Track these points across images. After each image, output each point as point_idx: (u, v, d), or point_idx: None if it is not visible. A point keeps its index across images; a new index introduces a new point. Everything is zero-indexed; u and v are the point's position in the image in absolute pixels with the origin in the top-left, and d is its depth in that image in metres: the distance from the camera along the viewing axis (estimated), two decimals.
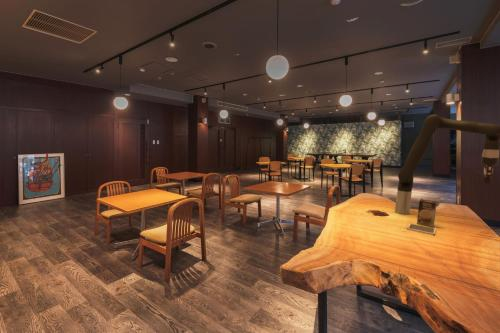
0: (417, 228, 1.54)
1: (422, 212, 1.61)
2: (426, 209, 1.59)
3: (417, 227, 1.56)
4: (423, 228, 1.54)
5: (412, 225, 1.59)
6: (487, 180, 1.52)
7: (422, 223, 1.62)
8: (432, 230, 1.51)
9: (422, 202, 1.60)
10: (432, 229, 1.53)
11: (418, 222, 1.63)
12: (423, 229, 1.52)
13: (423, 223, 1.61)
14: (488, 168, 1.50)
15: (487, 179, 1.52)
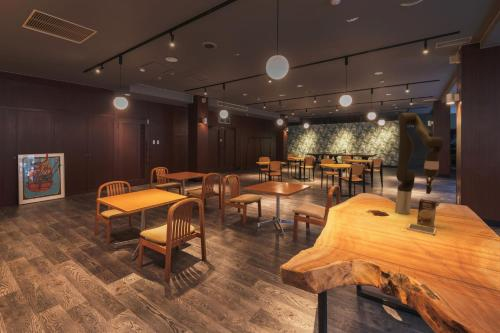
0: (417, 228, 1.54)
1: (422, 212, 1.61)
2: (426, 209, 1.59)
3: (417, 227, 1.56)
4: (423, 228, 1.54)
5: (412, 225, 1.59)
6: (428, 191, 1.56)
7: (422, 223, 1.62)
8: (432, 230, 1.51)
9: (422, 202, 1.60)
10: (432, 229, 1.53)
11: (418, 222, 1.63)
12: (423, 229, 1.52)
13: (423, 223, 1.61)
14: (428, 179, 1.54)
15: (428, 190, 1.56)
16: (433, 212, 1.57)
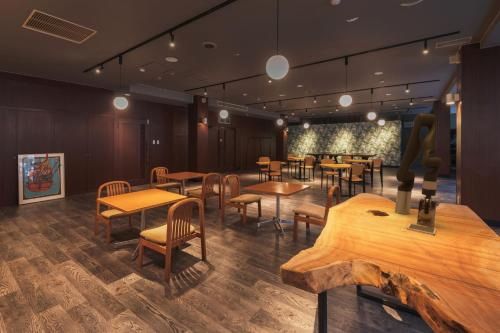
0: (417, 228, 1.54)
1: (422, 212, 1.61)
2: None
3: (417, 227, 1.56)
4: (423, 228, 1.54)
5: (412, 225, 1.59)
6: (425, 211, 1.58)
7: (422, 223, 1.62)
8: (432, 230, 1.51)
9: (422, 202, 1.60)
10: (432, 229, 1.53)
11: (418, 222, 1.63)
12: (423, 229, 1.52)
13: (423, 223, 1.61)
14: (425, 200, 1.56)
15: (425, 210, 1.58)
16: (433, 212, 1.57)
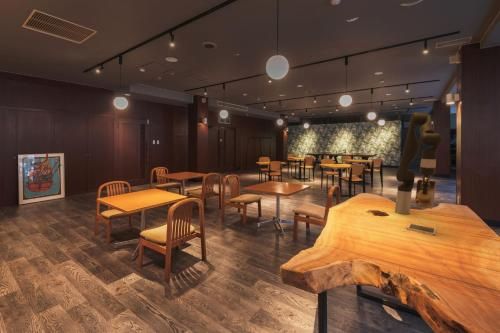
0: (417, 228, 1.54)
1: (421, 192, 1.50)
2: None
3: (417, 227, 1.56)
4: (423, 228, 1.54)
5: (412, 225, 1.59)
6: (424, 191, 1.47)
7: (420, 204, 1.50)
8: (432, 230, 1.51)
9: (420, 182, 1.49)
10: (432, 229, 1.53)
11: (416, 204, 1.52)
12: (423, 229, 1.52)
13: (422, 204, 1.50)
14: (424, 179, 1.45)
15: (424, 190, 1.47)
16: (432, 192, 1.46)
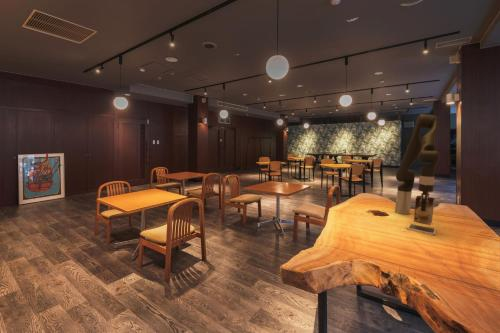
0: (417, 228, 1.54)
1: (419, 209, 1.51)
2: None
3: (417, 227, 1.56)
4: (423, 228, 1.54)
5: (412, 225, 1.59)
6: (422, 208, 1.48)
7: (419, 221, 1.52)
8: (432, 230, 1.51)
9: (419, 199, 1.51)
10: (432, 229, 1.53)
11: (415, 220, 1.53)
12: (423, 229, 1.52)
13: (420, 220, 1.51)
14: (422, 196, 1.46)
15: (422, 207, 1.49)
16: (431, 209, 1.47)
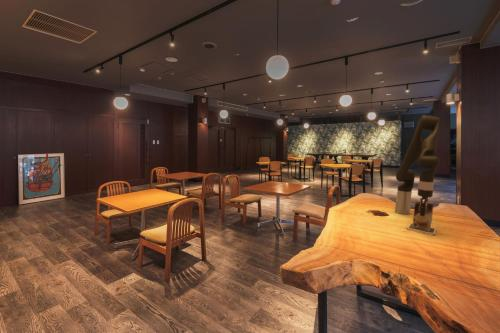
0: None
1: (418, 215, 1.51)
2: None
3: None
4: None
5: (412, 225, 1.59)
6: (422, 213, 1.48)
7: (418, 227, 1.52)
8: (432, 230, 1.51)
9: (418, 205, 1.51)
10: (432, 229, 1.53)
11: (414, 226, 1.54)
12: None
13: (419, 227, 1.52)
14: (422, 201, 1.47)
15: (422, 212, 1.48)
16: (430, 216, 1.48)
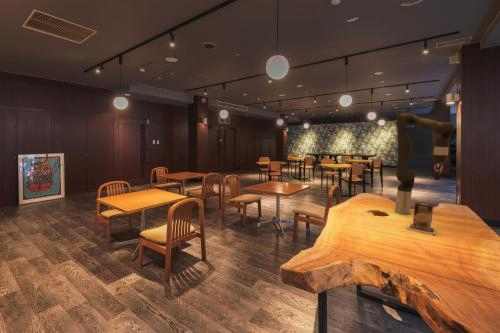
0: None
1: (418, 215, 1.51)
2: (422, 213, 1.50)
3: None
4: None
5: (412, 225, 1.59)
6: (436, 177, 1.54)
7: (418, 227, 1.52)
8: (432, 230, 1.51)
9: (418, 205, 1.51)
10: (432, 229, 1.53)
11: (414, 226, 1.54)
12: None
13: (419, 227, 1.52)
14: (436, 165, 1.52)
15: (436, 176, 1.54)
16: (430, 216, 1.48)
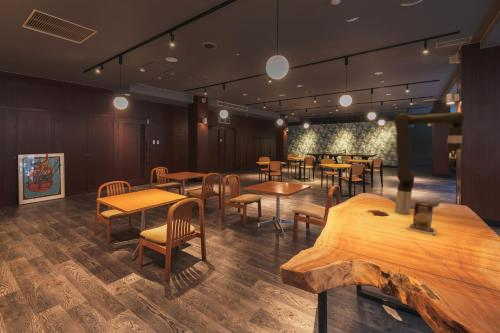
0: None
1: (418, 215, 1.51)
2: (422, 213, 1.50)
3: None
4: None
5: (412, 225, 1.59)
6: (451, 164, 1.65)
7: (418, 227, 1.52)
8: (432, 230, 1.51)
9: (418, 205, 1.51)
10: (432, 229, 1.53)
11: (414, 226, 1.54)
12: None
13: (419, 227, 1.52)
14: (451, 152, 1.63)
15: (451, 163, 1.65)
16: (430, 216, 1.48)
